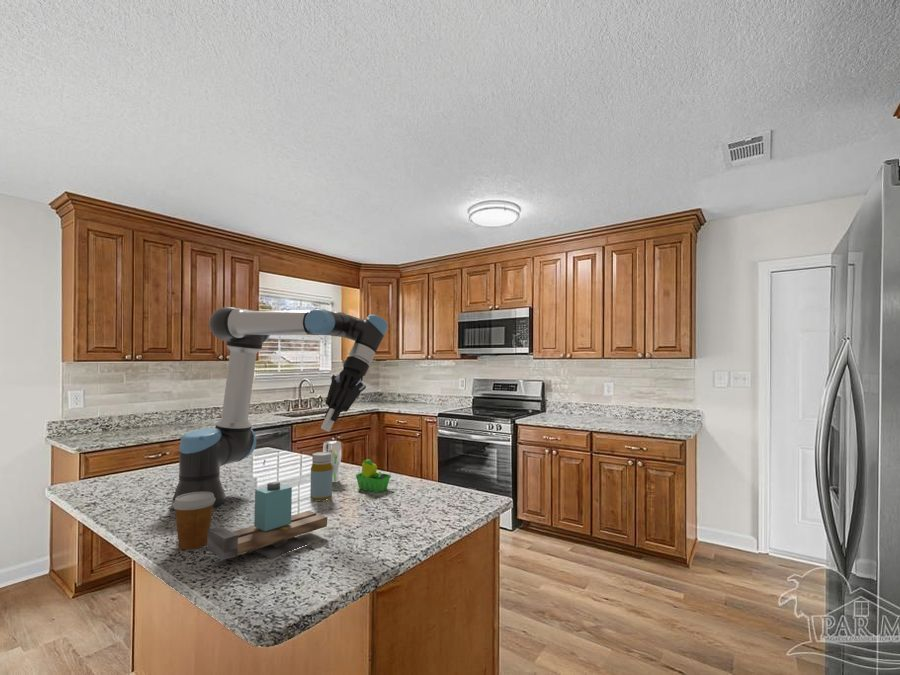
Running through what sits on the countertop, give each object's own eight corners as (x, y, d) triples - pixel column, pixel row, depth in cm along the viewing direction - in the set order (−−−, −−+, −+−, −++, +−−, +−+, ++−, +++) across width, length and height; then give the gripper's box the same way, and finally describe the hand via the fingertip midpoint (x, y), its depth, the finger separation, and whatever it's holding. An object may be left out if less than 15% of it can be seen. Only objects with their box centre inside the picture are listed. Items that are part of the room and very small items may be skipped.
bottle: (334, 495, 161) (335, 451, 161) (327, 502, 154) (328, 455, 154) (315, 495, 161) (315, 451, 162) (306, 501, 154) (307, 455, 155)
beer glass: (324, 484, 175) (325, 444, 176) (320, 480, 182) (321, 441, 182) (343, 482, 179) (343, 442, 179) (338, 478, 185) (339, 440, 186)
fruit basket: (392, 489, 170) (392, 457, 170) (375, 494, 162) (376, 462, 163) (368, 484, 176) (368, 454, 176) (351, 490, 168) (352, 458, 169)
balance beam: (305, 527, 130) (305, 501, 130) (331, 538, 122) (331, 510, 123) (203, 558, 109) (204, 528, 110) (227, 573, 101) (228, 540, 102)
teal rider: (280, 527, 120) (281, 479, 121) (290, 531, 117) (291, 482, 118) (254, 534, 115) (255, 484, 116) (264, 539, 112) (265, 488, 112)
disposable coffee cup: (182, 538, 122) (184, 491, 122) (220, 537, 123) (221, 490, 123) (163, 553, 112) (165, 502, 113) (204, 551, 113) (206, 501, 114)
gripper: (380, 369, 148) (347, 439, 140) (350, 361, 154) (317, 428, 146) (368, 359, 142) (333, 431, 134) (337, 351, 148) (302, 420, 140)
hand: (324, 429), depth 140 cm, fingers closed
